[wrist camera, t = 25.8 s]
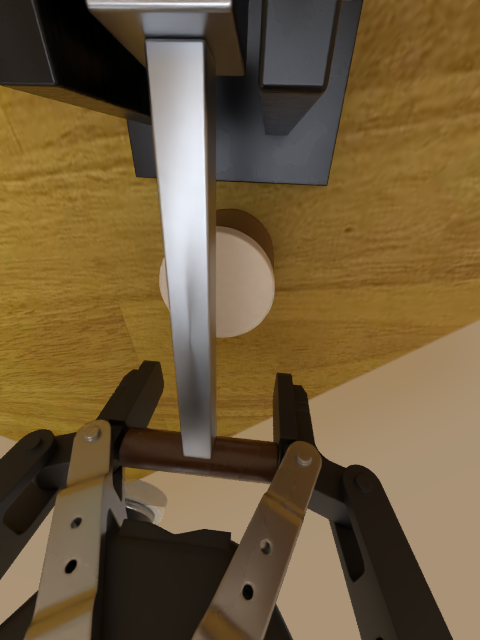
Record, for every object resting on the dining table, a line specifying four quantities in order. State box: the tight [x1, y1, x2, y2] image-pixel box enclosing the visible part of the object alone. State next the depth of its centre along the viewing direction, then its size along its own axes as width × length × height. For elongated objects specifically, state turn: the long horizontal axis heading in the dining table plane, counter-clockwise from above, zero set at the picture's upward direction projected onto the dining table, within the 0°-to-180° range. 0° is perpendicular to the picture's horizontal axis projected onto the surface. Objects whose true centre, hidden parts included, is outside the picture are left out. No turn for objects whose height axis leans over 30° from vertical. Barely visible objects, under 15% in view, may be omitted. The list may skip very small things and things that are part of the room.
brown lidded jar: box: [159, 209, 275, 338], centre depth 13 cm, size 5×5×5 cm
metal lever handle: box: [85, 0, 279, 484], centre depth 7 cm, size 15×6×2 cm, turn 178°
